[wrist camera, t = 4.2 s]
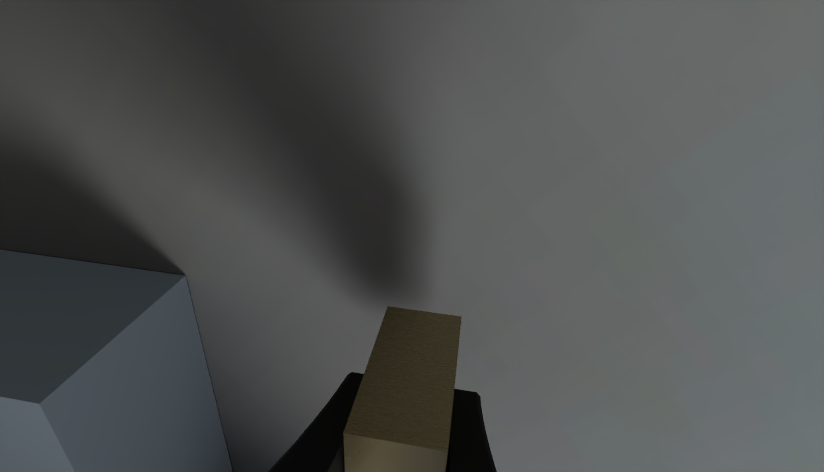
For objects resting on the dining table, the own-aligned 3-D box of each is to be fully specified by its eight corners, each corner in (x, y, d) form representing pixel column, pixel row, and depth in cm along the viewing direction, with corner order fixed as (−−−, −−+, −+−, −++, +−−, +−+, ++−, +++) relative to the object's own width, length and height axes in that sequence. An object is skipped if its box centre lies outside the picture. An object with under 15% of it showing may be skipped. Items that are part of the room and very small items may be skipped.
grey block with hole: (239, 501, 22) (166, 646, 17) (35, 459, 24) (-88, 581, 19) (185, 275, 16) (38, 404, 11) (-95, 236, 17) (-340, 332, 12)
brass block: (448, 418, 13) (432, 564, 10) (385, 408, 14) (347, 545, 10) (461, 316, 11) (447, 452, 8) (388, 306, 12) (343, 433, 8)
